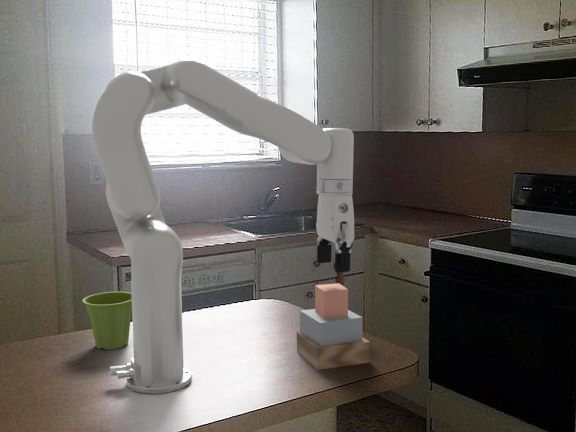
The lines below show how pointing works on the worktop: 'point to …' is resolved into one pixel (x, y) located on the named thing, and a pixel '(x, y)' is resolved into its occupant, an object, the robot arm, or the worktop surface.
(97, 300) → the plant pot
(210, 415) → the worktop surface
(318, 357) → the lower block
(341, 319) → the upper block
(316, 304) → the pink cube
